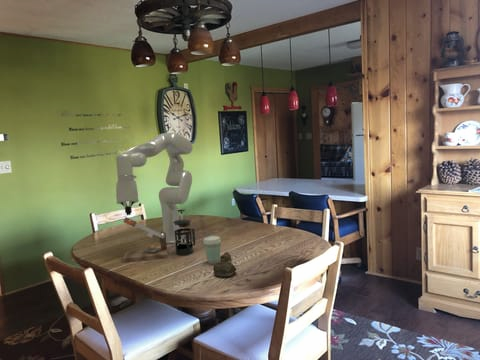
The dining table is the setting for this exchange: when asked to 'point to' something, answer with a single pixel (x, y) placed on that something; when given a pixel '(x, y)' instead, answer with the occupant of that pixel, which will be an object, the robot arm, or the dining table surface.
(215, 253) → the coffee cup
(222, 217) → the dining table surface
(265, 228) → the dining table surface
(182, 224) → the french press
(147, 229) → the lever
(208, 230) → the dining table surface
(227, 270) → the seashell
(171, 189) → the robot arm
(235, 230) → the dining table surface
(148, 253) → the base
